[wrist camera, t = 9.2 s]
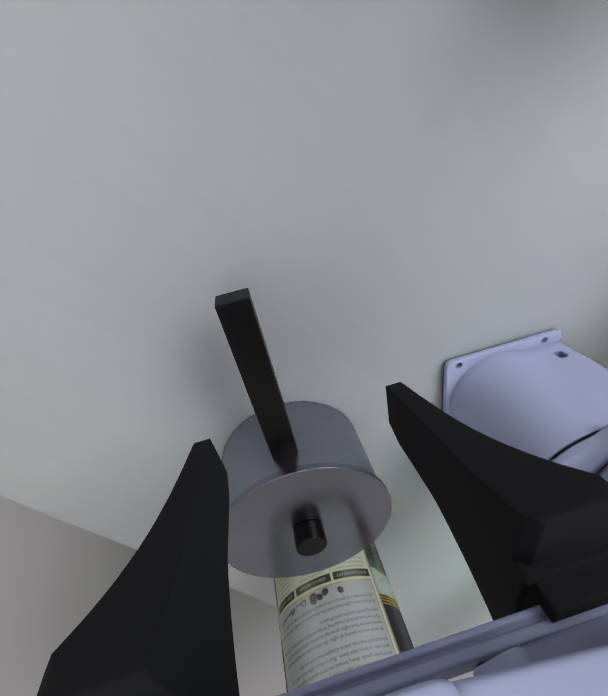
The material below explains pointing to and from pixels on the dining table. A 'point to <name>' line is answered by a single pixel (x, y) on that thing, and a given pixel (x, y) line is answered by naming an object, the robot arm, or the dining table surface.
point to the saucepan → (292, 470)
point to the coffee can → (338, 619)
